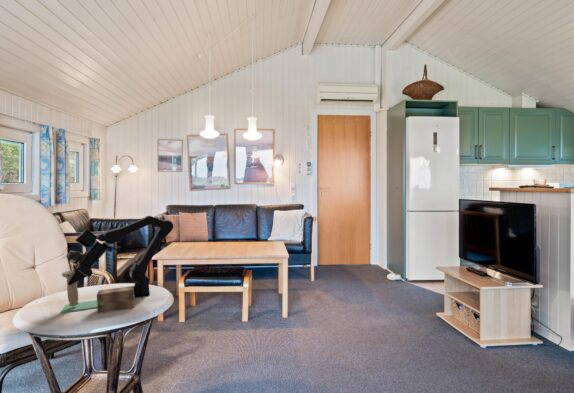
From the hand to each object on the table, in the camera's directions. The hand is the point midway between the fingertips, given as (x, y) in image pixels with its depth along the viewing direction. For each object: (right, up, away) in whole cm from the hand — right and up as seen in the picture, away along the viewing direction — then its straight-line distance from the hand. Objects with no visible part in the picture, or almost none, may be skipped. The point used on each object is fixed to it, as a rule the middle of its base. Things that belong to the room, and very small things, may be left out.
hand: (67, 283), depth 152 cm
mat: (+4, -11, +4) cm, 13 cm away
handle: (+1, -10, +2) cm, 11 cm away
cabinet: (+21, -11, +1) cm, 24 cm away
